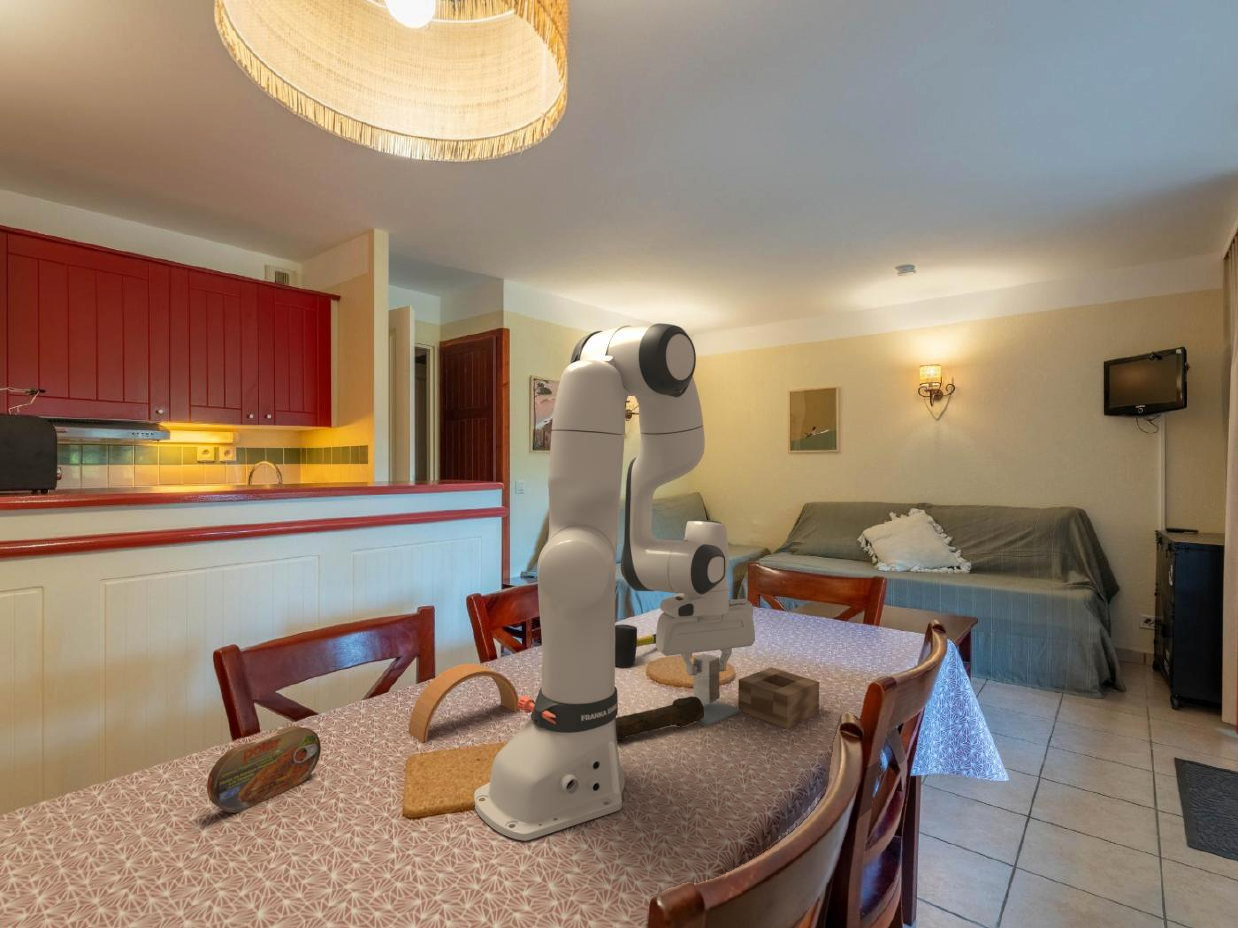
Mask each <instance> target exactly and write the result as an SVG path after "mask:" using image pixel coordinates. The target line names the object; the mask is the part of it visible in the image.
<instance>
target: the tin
mask: <svg viewBox="0 0 1238 928" xmlns="http://www.w3.org/2000/svg"><path fill="white" fill-rule="evenodd" d="M321 749H322V746H321V741H320V738H319V735H318V733H316V731H314V730H312V729H311V728H309V727H302V726H297V725H296V726H295V725H294V726H293V725H292V726H287V727H284V728H282V729H279V730H276V731H274V732H271V733H269V734H266V735H264V736H262V737H259V738H255V739H254V740H250V741H248V742H245V743H243V744H240V745H237V746H236V747H233V748H231V749H229V750H228V751H226V752H225V753H224V754H223V755H221V756H220V757H219V759H218V760H217V761H216V762H214V765H213V766H212V767H211V770H210V772H209V775H208V777H207V784H206V792H207V796H208V798H209V800H210V802H211V803H212V804H214V805H215V806H216V807H218V808H219V809H220V810H222V811H223V812H226V813H234V814H235V813H240V812H244V811H247V810H249V809H251V808H252V806H253V807H254V805H255V806H257V805H259V804H261V803H263V802H265V801H268V800H269V798H270V799H271V798H274V797H276V796H278V795H280V794H282V793H284V792H286V791H289V790H291V789H293V788H295V787H296V786H298V785H301V784H302V783H304V781H305V780H307V779H308V778H309V777H310V775H311V774H312V773H313V772H314V770H315V769H316V767H317V765H318V762H319V759H320V756H321V751H322V750H321ZM258 803H259V804H258ZM256 804H257V805H256ZM248 808H249V809H248Z"/></svg>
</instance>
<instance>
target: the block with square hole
mask: <svg viewBox="0 0 1238 928" xmlns="http://www.w3.org/2000/svg"><path fill="white" fill-rule="evenodd" d="M737 691H738V693H737V694H738V696H737V697H738V701H737V702H738V705H737V708H738V709H741V712H743V713H746V714H748V715H750V716H753V717H756V718H758V719H760V720H763V721H765V722H769V723H771V724H774V725H776V726H779V727H780V728H784V729H785V730H787V729H789V728H792V727H793V726H796V725H798V724H799V723H802V722H803V721H806V720H807V719H810V718H811V717H813V716H815V715H817V714H819V713H820V681H817V680H814V679H811V678H807V677H805V676H801V675H797V674H796V673H795V674H794V673H792V672H789V671H785V670H781V669H779V668H776V667H773V666H770V667H768V668H765V669H763V670H759V671H757V672H754V673H752V674H749V675H747V676H744V677H741V678H739V679H738V690H737Z"/></svg>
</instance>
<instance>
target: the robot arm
mask: <svg viewBox="0 0 1238 928" xmlns="http://www.w3.org/2000/svg"><path fill="white" fill-rule="evenodd" d="M696 361H697V354H696V348H695V345H694V343H693V341H692V338H690V336H689V334H688V333H687V332H686V331H685V330H684V329H683V328H682V327H681V326H679V325H676V324H671V323H669V324H668V323H655V324H650V325H649V324H647V325H646V324H644V325H622V326H618V327H613V328H609V329H607V330H597V331H594V332H591V333H589V334H587V335H584V336H583V337H581V339H579V341H577V343H576V345H575V347H574V349H573V350H572V354H571V359H570V364H569V365H567V366H566V367H565V369H564V370H563V372H561V373H562V374H561V377H560V381H559V383H558V388H557V391H556V396H555V401H554V407H553V414H552V422H551V423H552V424H551V430H552V431H551V434H550V435H551V436H550V448H549V450H550V451H549V463H548V464H549V465H548V479H547V485H548V486H547V488H548V539H547V542H546V544H545V545H544V546H543V547H542V550H541V551H540V553H539V556H538V559H537V565H536V571H537V573H536V574H537V595H538V597H537V599H538V609H539V623H540V624H539V625H540V629H541V631H540V632H541V688H540V689H539V691H538V693H537V696H536V698H535V700H534V699H532V698H530V697H528V695H521V697H519V701H518V702H519V703H518V704H517V705H519V706H518V708H519V709H520V711H524V713H526V714H530V713H531V714H530V719H529V720H528V721H527V722H526V723H525V724H524V725H523V726H522V727H521V728H520V729H519V731H518V732H517V733H515V735H514V736H513V737H512V738H511V739H510V740H509V741H508V742H507V743H506V744H505V745H504V746H503V747H502V749H500V750H499V751H498V753H496V755H495V757H494V760H493V763H492V766H491V773H490V778H489V782H487V783H485V784H483V785H482V786H480V787H478V788H476V790H475V791H474V794H473V802H474V801H475V807H474V809H475V812H476V813H477V814H478V816H479V817H480V818H481V819H482V820H483V821H484V822H485V823H486V824H487V825H488V826H489V827H491V828H492V829H493V830H494V831H496V832H498V833H500V834H501V835H503V836H506V837H508V838H510V839H514V840H518V841H526V842H527V841H531V840H534V839H536V838H540V837H543V836H546V835H548V834H549V835H550V834H551V833H555V832H558V831H560V830H564V829H566V828H567V829H568V828H569V827H574V826H576V825H579V824H582V823H585V822H587V821H591V820H594V819H597V818H599V817H600V818H601V817H603V816H606V815H609V814H612V813H616V812H618V811H620V810H621V809H622V808H623V798H622V793H623V792H624V789H625V786H626V779H625V776H624V773H623V769H622V765H621V759H620V754H619V753H620V752H619V748H618V747H619V746H618V741H617V737H616V723H615V718H617V717H618V713H619V711H618V709H619V703H618V701H619V699H618V698H619V696H618V688H617V687H616V686H615V685H616V665H615V625H616V569H617V568H616V567H617V554H618V553H617V552H618V539H619V537H618V536H619V535H618V534H619V523H620V522H619V521H620V509H621V496H622V494H621V493H622V482H623V481H622V479H623V465H624V452H625V438H626V437H625V435H626V401H627V400H628V398H629V397H634V398H635V399H636V401H637V403H638V423H639V431H640V443H639V444H640V445H639V450H638V453H637V456H636V457H634V458H633V459H632V460H631V461H630V462H629V465H628V467H627V468H628V469H627V473H626V479H625V481H626V482H625V483H626V484H625V499H624V501H625V503H624V504H625V505H624V507H625V508H624V533H623V534H624V536H623V538H624V539H623V545H622V553H621V556H620V557H621V558H620V572H621V575H622V577H623V579H624V580H625V582H626V583H627V584H628V585H629V586H630V588H631V589H632V590H634V591H636V592H662V593H669V594H670V593H671V594H673V595H671V596H668V597H666V598H665V599H662V600H660V603H659V608H660V610H661V611H662V612H663V613H661V614H660V615H659V616H658V619H657V624H656V630H655V631H656V632H655V634H656V644H655V646H656V649H657V651H659V652H660V654H662V655H664V656H665V657H670V656H678V655H680V656H681V658H682V660H683V662H684V663H685V665H686V674H687V675H688V676H691V677H692V676H694V675H697V666H696V665H695V664H694V663H692V660H691V659H693V654H695V653H704V652H705V653H706V652H713V651H721V655H720V657H719V673H722V672H726V671H727V663H728V662H729V659H730V657H731V656H732V654H733V653H732V652H733V651H732V649H737V648H738V649H739V648H745V647H746V648H748V647H752V646H753V645H754V644H755V642H756V631H755V624H754V617H753V616H754V605H753V604H752V602H751V601H749V600H748V599H746V598H740V599H730V584H729V582H728V570H729V567H730V562H729V561H730V556H729V555H730V554H729V553H730V552H729V541H728V534H727V529H726V526H725V524H724V523H722V522H720V521H718V520H709V519H702V518H701V519H697V518H696V519H691V520H687V522H686V525H685V531H684V538H682V540H673V539H669V540H668V539H658V538H656V537H655V536H654V535H653V533H652V526H653V525H652V520H653V500H654V499H653V498H654V495H655V492H656V490H657V489H658V488H659V487H661V486H663V485H665V484H669V483H670V482H672V481H675V480H678V479H680V478H681V477H683V476H685V475H688V473H690V472H691V471H694V469H695V468H697V466H698V465H699V463H700V462H701V460H702V458H703V456H704V453H705V442H706V441H705V430H704V429H705V428H704V419H703V412H702V405H701V401H700V396H699V393H698V389H697V385H696V382H695V380H694V373H695V370H696V364H697V362H696ZM481 799H484V801H479V800H481Z"/></svg>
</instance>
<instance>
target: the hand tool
mask: <svg viewBox="0 0 1238 928" xmlns="http://www.w3.org/2000/svg"><path fill="white" fill-rule="evenodd" d="M703 717H704V707H703V705H702V703H701V700H700V699H699V698H697V697H694V695H693V696H687V697H682V698H676V699H674V700H673V702H672V704H669V705H666V706H663V707H658V708H653V709H649V710H645V711H641V712H634V713H631V714H627V715H622V716H616V717H615V723H616V737H617V742H618V741H619V740H624V741H625V740H626V739H627V737H632V736H635V735H638V734H639V735H640V734H643V733H647V732H652V731H656V730H660V729H663V728H667V727H670V726H676V727H679V728H684V727H687V726H690V725H692V724H694V723H697V722H696V721H698V720H700V719H702V718H703Z"/></svg>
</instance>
